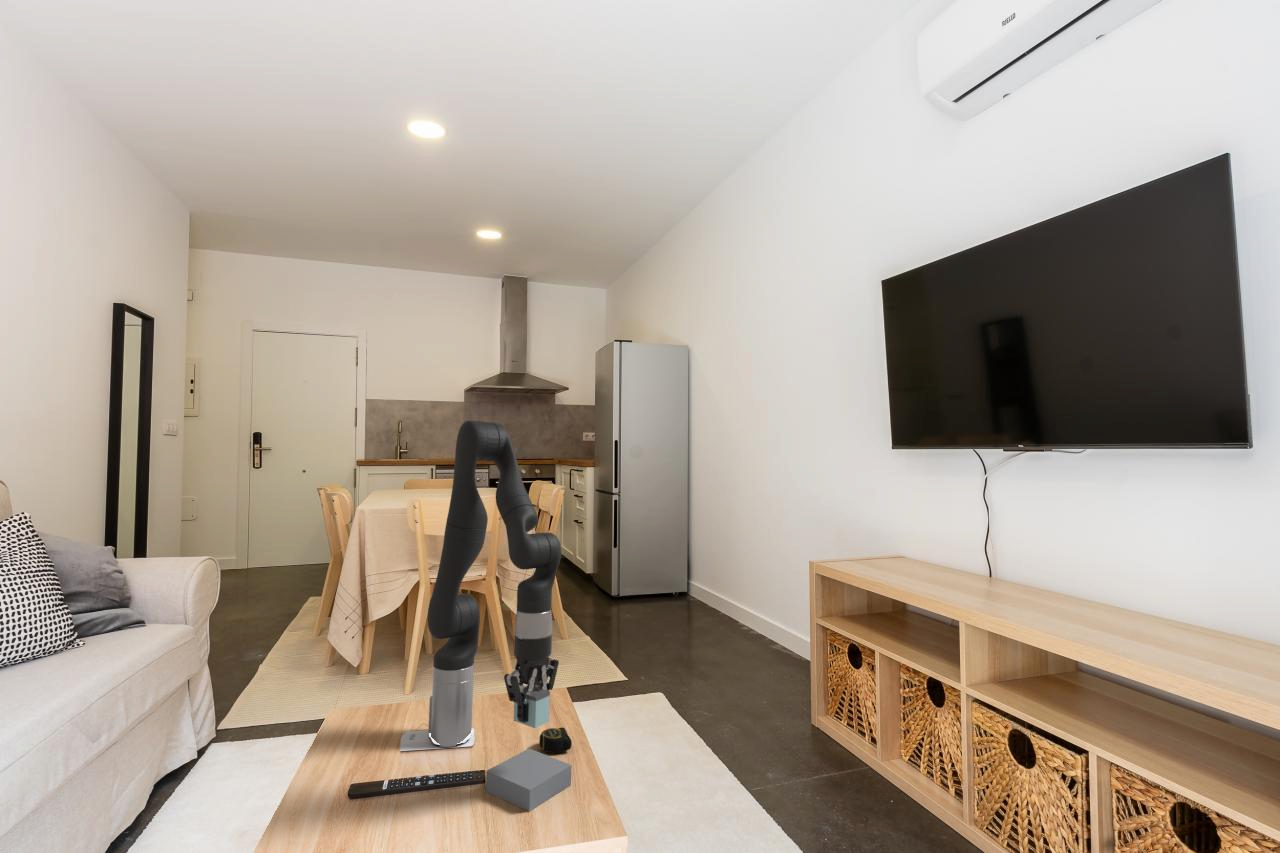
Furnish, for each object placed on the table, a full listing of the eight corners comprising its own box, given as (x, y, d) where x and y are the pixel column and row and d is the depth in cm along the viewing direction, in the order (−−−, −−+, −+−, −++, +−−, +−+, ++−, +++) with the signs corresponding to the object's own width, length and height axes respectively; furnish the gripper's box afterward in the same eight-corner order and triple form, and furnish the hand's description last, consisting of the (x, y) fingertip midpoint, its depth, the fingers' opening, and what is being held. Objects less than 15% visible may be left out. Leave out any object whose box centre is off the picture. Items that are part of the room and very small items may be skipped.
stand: (485, 791, 126) (486, 770, 126) (528, 767, 136) (528, 748, 136) (529, 811, 119) (530, 789, 120) (570, 785, 129) (571, 765, 130)
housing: (513, 720, 128) (514, 690, 129) (527, 714, 132) (528, 684, 132) (535, 728, 125) (536, 697, 125) (549, 721, 128) (549, 691, 129)
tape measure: (572, 754, 143) (572, 737, 143) (541, 758, 141) (542, 741, 141) (566, 741, 149) (566, 725, 150) (537, 744, 147) (537, 728, 147)
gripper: (543, 621, 137) (541, 702, 136) (494, 636, 125) (491, 724, 125) (570, 627, 133) (568, 710, 132) (521, 643, 121) (519, 734, 120)
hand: (531, 717), depth 128 cm, fingers closed on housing, 4 cm apart
